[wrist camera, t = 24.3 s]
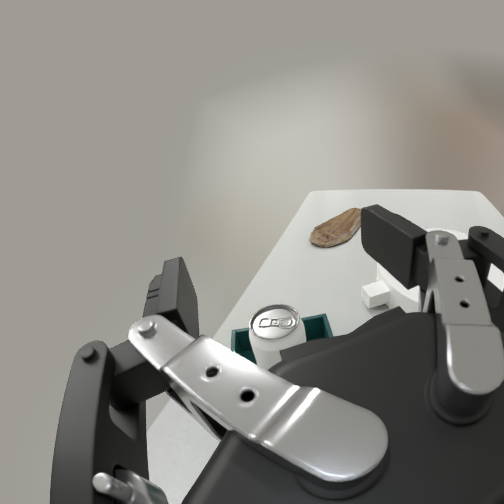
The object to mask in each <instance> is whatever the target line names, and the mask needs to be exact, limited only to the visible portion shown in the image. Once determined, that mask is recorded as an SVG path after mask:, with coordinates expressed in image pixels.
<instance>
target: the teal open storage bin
mask: <svg viewBox="0 0 504 504" xmlns="http://www.w3.org/2000/svg"><path fill="white" fill-rule="evenodd" d="M301 320H302V321H303V323H304V327H305V334H306V342H308V341H311V340H315V339H322V338H329V337H333V334H332V331H331V328H330V325H329V322H328V319H327V316H326V314H321V315H316V316H311V317H306V318H301ZM249 330H250V328H244V329H237V330H232V338H231V351H233V352H235V353H236V354H238V355H240V356H242V357H243V358H245V359H247V360H249V361H251V362H252V363H254V364H256V365H257V362H256V359H255V356H254V353H253V349H252V346H251V343H250V339H249Z"/></svg>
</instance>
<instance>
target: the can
mask: <svg viewBox="0 0 504 504" xmlns="http://www.w3.org/2000/svg"><path fill="white" fill-rule="evenodd" d="M249 327H250V330H249V339H250V343H251V346H252V349H253V353H254V356H255V359H256V362H257V365H258V366H260V367H261V368H263V369H265V370H268V369H269V368H271V367H272V366H273V365H275V364H276V363H278V362H280V361H282V360H281V356H280V351H279V350H283V349H286V348H289V347H292V346H295V345H299V344H302V343H305V342H306V334H305V327H304V323H303V321H302V320H301V318H300V317H299V314H298V312H297V311H296V310H295V309H294V308H293V307H291V306H288V305H284V304H274V305H269V306H266V307H263V308H261V309H260V310H258V311H257V312H256V313H255V314H254V315H253V316H252V317H251V319H250V323H249Z"/></svg>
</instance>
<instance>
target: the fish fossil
mask: <svg viewBox="0 0 504 504" xmlns="http://www.w3.org/2000/svg"><path fill="white" fill-rule="evenodd" d="M360 213H361V209H358V208H352V209H349V210H347V211H345V212H344V213H342V214H340V215H338V216H336V217H334V218H332V219H331V220H329V221H327V222H325V223H322V224H321V225H319V226H317V227H315V229H314V230H313V232H312V233H311V236H310V240H309V241H311V242H312V243H314V244H316V245H318V246H321V247H323V248H326V247H330V246H334V245H337V244H341V243H343V242H346V241H347V240H348V239H350V238H351V237H352V236H353V234H354V233H355V232H356V230H357V229H358V228H359V227H360V226H361V215H360Z"/></svg>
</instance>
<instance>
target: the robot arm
mask: <svg viewBox="0 0 504 504" xmlns="http://www.w3.org/2000/svg"><path fill="white" fill-rule="evenodd" d="M360 215H361V241H362V245H363V248H364V250H365V251H366V253H368V254H369V255H370V256H371V257H372V258H373V259H374V260H375V261H377V262H378V263H379V264H380V265H381V266H382V267H383V268H384V269H386V270H387V271H388V272H389V273H390V274H391V275H392V276H393V277H394V278H395V279H396V280H398V281H399V282H400V283H401V284H402V285H403V286H404V287H405V288H406V289H407V290H409V289H411V288H414V287H416V286H418V285H419V292H418V302H419V312H411V313H406V312H405V311H404V310H403V309H402V308H401V307H400V306H398V307H395V308H393V309H391V310H389V311H386V312H384V313H382V314H379V315H377V316H374V317H373V318H371V319H370V320H369V321H367V322H366V323H364V324H363V325H361V326H360V327H359V328H357V329H356V330H354V331H353V332H351V333H349V334H347V335H341V336H335V337H329V338H322V339H315V340H311V341H308V342H305V343H302V344H299V345H295V346H292V347H289V348H286V349H283V350H279V351H280V356H281V360H282V361H280V362H278V363H276V364H275V365H273V366H272V367H271V368H269V369H268V370H265V369H263V368H261V367H260V366H258V365H256V364H254V363H252V362H251V361H249V360H247V359H245V358H243V357H242V356H240V355H238V354H236V353H235V352H233V351H231V350H230V349H228V348H226V347H224V346H223V345H221V344H219V343H218V342H216V341H214V340H213V339H211V338H209V337H208V336H206V335H201V336H199V322H198V305H197V296H196V293H195V289H194V286H193V284H192V281H191V278H190V276H189V273H188V271H187V268H186V265H185V263H184V260H183V258H182V257H178V258H174V259H171V260H167V261H165V262H164V266H163V271H162V274H161V275H157V276H155V277H154V279H153V280H152V281H151V283H150V284H149V289H148V293H147V299H146V303H145V308H144V313H143V317H142V318H141V319H140V320H138V321H137V322H136V323H134V324H133V325H132V327H131V328H130V330H129V332H128V340H127V341H125V342H123V343H121V344H119V345H117V346H115V347H113V348H110V349H109V348H108V347H107V345H106V344H105V343H104V342H102V341H92V342H89V343H87V344H86V345H84V346H83V347H82V348H80V349H79V351H78V352H77V353H76V355H75V357H74V360H73V363H72V367H71V371H70V375H69V378H68V382H67V386H66V390H65V394H64V399H63V403H62V408H61V413H60V418H59V424H58V429H57V435H56V441H55V448H54V456H53V464H52V474H51V475H52V476H51V489H50V504H168V501H167V498H166V495H165V493H164V492H163V490H162V489H161V488H160V487H158V486H157V485H156V484H154V483H152V482H150V481H149V472H148V458H147V439H146V400H147V399H149V398H152V397H154V396H156V395H158V394H160V393H162V392H164V391H165V392H166V393H167V394H168V395H169V396H170V397H171V398H172V399H173V400H174V401H175V402H176V403H177V404H179V405H180V406H181V407H182V408H183V409H184V410H185V411H186V412H187V413H188V414H189V415H191V416H192V417H193V418H194V419H195V420H196V421H197V422H198V423H199V424H200V425H201V426H202V427H203V428H204V429H205V430H206V431H207V432H208V433H210V434H211V435H212V436H213V437H214V438H215V439H217V440H218V441H219V442H220V443H219V445H218V447H217V448H216V450H215V452H214V453H213V455H212V456H211V458H210V460H209V461H208V463H207V464H206V466H205V468H204V469H203V471H202V472H201V474H200V475H199V477H198V479H197V480H196V482H195V483H194V485H193V486H192V488H191V489H190V491H189V492H188V494H187V495H186V497H185V498H184V500H183V501H182V503H181V504H504V289H503V292H502V291H501V290H500V289H499V288H497V287H496V286H495V285H494V284H493V283H492V282H491V281H489V280H488V279H487V278H488V274H489V271H490V267H491V263H492V264H493V265H494V266H496V267H497V268H498V269H500V270H501V271H502V272H503V273H504V238H503V237H501V236H500V235H498V234H497V233H495V232H494V231H492V230H490V229H488V228H486V227H482V226H474V227H471V228H470V229H469V234H468V239H463V240H458V239H457V238H456V236H455V235H453V234H452V233H449V232H447V231H442V230H434V231H430V232H427V231H425V230H424V229H422V228H420V227H419V226H417V225H415V224H414V223H413V224H412V222H410V221H409V220H406V219H405V218H404V217H402V216H400V215H398V214H395V213H392V212H390V211H388V210H387V209H385V208H383V207H381V206H379V205H377V204H376V205H372V206H368V207H364V208H362V209H361V213H360ZM492 323H493V324H494V325H493V324H492Z"/></svg>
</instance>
